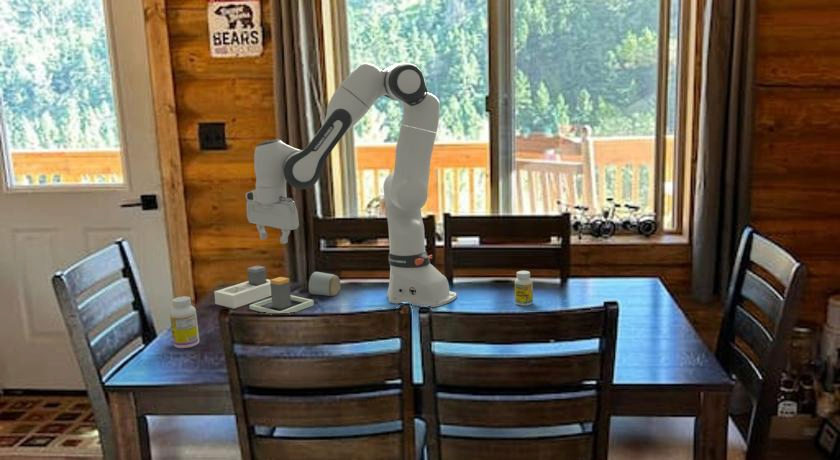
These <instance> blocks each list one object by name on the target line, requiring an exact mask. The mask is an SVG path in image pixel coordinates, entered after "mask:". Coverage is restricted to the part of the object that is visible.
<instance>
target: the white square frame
mask: <svg viewBox="0 0 840 460" xmlns="http://www.w3.org/2000/svg"><path fill="white" fill-rule="evenodd" d="M290 295H291V301H293V302H297V303H299V304H296V305H294V306H290V307H287V308H284V309H281V310H278V309H277V310H275V309H271V308H268V307H262V306H265V305H268V304H272V297H268V298H265V299H262V300H261V301H260V300H259V301H256V302H253V303H252V304H251V303H250V304H248V305H249V310H252V311H256V312H260V313H263V312H266V313H265V314H268V313H290V312H295V313H297V312H300V311H302V310H305V309H308V308H310V307H313V306H315V303H314V299H310V298H307V297H306V298H305V297H302V296H301V297H300V296H296V295H292V294H290Z"/></svg>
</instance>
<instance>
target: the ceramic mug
mask: <svg viewBox="0 0 840 460" xmlns="http://www.w3.org/2000/svg"><path fill="white" fill-rule="evenodd" d="M340 290H341V279H340V277H339V276H338V275H336V274H331V273H326V272H321V271H314V272H313V273H311V275H310V277H309V280H308V291H309V293H310V294H311V295H315V296H316V295H318V296H325V297H335V296H336V295H338V294H339V291H340Z"/></svg>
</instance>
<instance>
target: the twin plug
mask: <svg viewBox="0 0 840 460" xmlns="http://www.w3.org/2000/svg"><path fill="white" fill-rule="evenodd" d="M266 279H267V271H266V266H261V265H254V266H250V267H247V281H248V282H249V285H254V286H258V285H262V284H265V283H267V281H266Z"/></svg>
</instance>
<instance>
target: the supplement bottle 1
mask: <svg viewBox="0 0 840 460" xmlns="http://www.w3.org/2000/svg"><path fill="white" fill-rule="evenodd" d="M171 301H172V306H173V308H171V310H170V312H169V317H170V326H171V334H172V341H173V346H174V347H175V348H178V349H188V348H192V347H195V346H197V345H198V344H200V343H199V342H200V334H199V325H198V317H197V310H196V307H195V306H194V305H192V299H191V297H190V296H178V297H175V298H173V299H172V300H171Z"/></svg>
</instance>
